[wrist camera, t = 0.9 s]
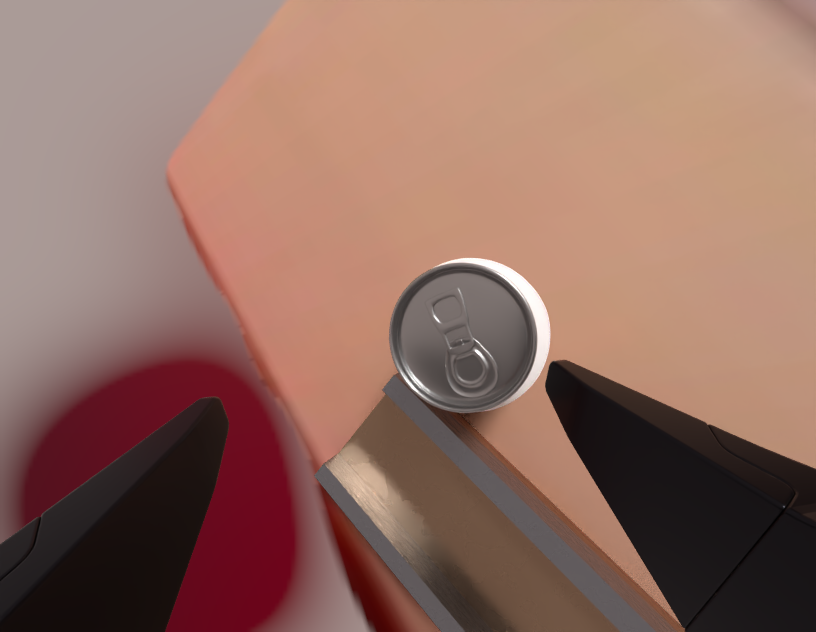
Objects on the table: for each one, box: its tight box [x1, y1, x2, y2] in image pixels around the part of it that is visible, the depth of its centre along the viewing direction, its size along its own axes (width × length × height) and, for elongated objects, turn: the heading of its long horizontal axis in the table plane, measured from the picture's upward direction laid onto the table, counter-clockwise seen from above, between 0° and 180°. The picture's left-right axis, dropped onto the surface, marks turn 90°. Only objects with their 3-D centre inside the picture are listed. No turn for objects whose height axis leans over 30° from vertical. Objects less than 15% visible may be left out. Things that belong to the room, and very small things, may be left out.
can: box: [389, 258, 550, 413], centre depth 18 cm, size 6×6×12 cm
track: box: [314, 373, 685, 632], centre depth 23 cm, size 24×11×3 cm, turn 50°
